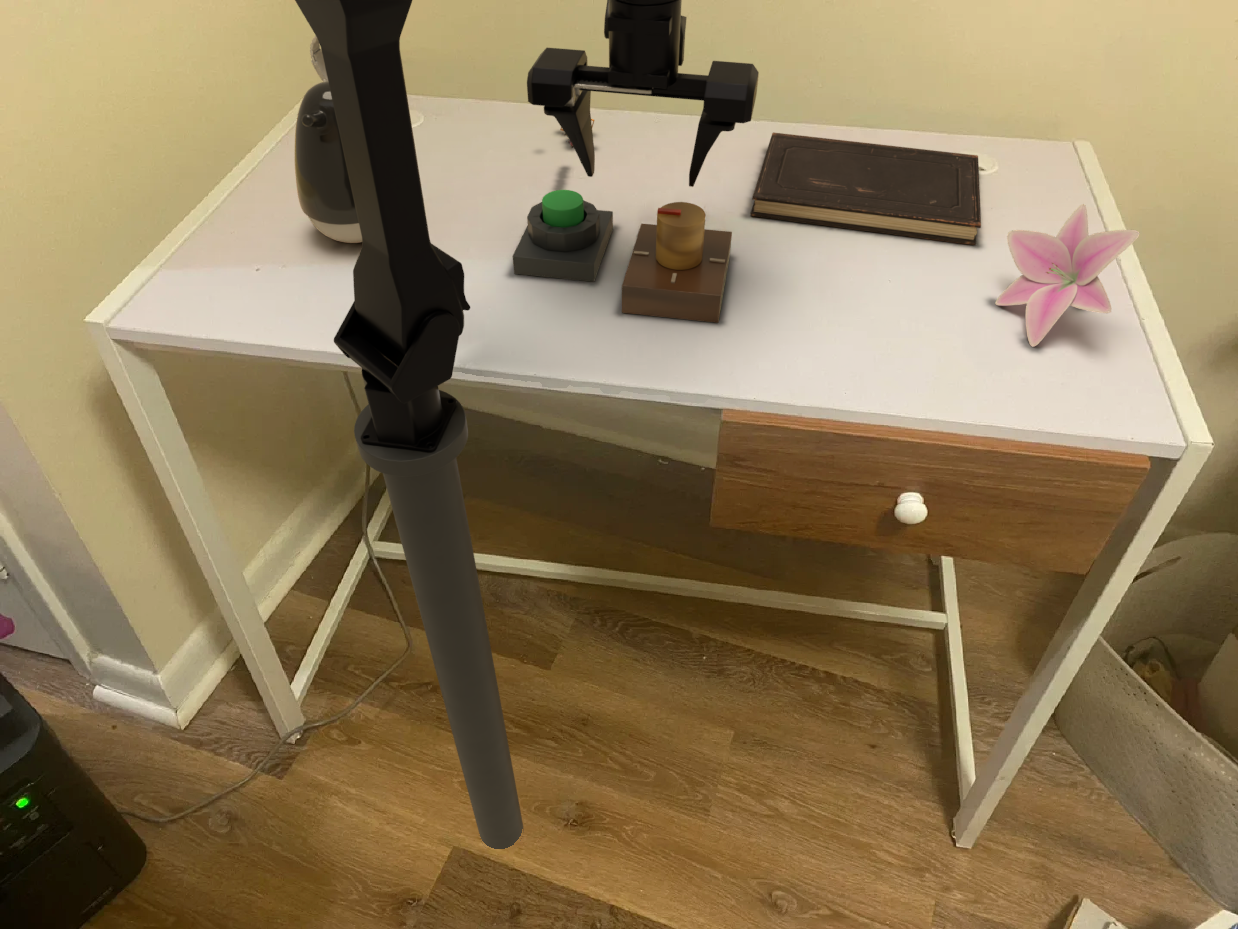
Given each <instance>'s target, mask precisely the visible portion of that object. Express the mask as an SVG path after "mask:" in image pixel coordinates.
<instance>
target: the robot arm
mask: <svg viewBox="0 0 1238 929" xmlns="http://www.w3.org/2000/svg"><path fill="white" fill-rule="evenodd" d="M294 1H295V3H296V5H297V6H298V8H299V10H300V12H301V13H302V15H303V16H304V18H305V20H306V21H307V23H308V25H309V27H310V28H311V30H312V32H313V34H314V35H316V37H317V39H318V41H319V45H320V49H321V50H322V54H323V59H324V64H325V68H326V73H327V78H328V82H329V87H330V92H331V96H332V101H333V105H334V110H335V115H336V119H337V124H338V129H339V133H340V138H341V142H342V147H343V152H344V156H345V161H346V166H347V170H348V175H349V180H350V184H351V189H352V193H353V198H354V203H355V207H356V212H357V217H358V221H359V226H360V230H361V235H362V242H361V243H362V244H361V248H360V250H359V253H358V256H357V259H356V261H355V263H354V266H353V270H352V276H353V277H352V279H353V280H352V281H353V296H354V297H353V299H354V301H353V302H352V304H351V305H350V308H349V310H348V311H347V314H346V315H345V317H344V319H343V320H342V322H341V325H340V326H339V327H338V329H337V331H336V333H335V335H334V337H333V343H334V344H335V345H336V346H337V348H338V349H339V351H341V353H342V354H343V355H344V356H345V357H347V359H350V360H352V362H354V363H355V364H356V365H358V366H359V367H360V368H361V376H362V380H363V385H364V388H363V389H364V393H365V396H366V400H367V405H368V404H369V408H370V412H371V415H372V417H371V419H370V421H369V422H368V424H367V426H366V428H365V430H364V431H363V433H362V435H361V442H362V443H363V444H365V445H373V446H380V447H388V448H396V449H404V450H411V451H419V452H427V453H432V452H434V451H436V449H437V447H438V445H439V443H440V441H441V439H442V437H443V434H444V432H445V430H446V428H447V426H448V423H449V421H450V419H451V417H452V415H453V413H454V410H455V408H456V406H457V401H456V399H457V398H456V397H454V398H450V397H442V396H440V394H439V390H440V389H439V386H441V385H442V384H444V383H446V382H447V381H449V380H451V379H452V377H453V372H454V367H455V361H456V355H457V350H458V346H459V345H458V344H459V337H460V336H462V334H463V331H464V329H465V328H464V327H465V312H464V311H466V312H467V311H470V309H471V305H470V304H469V302H468V301H467V298H466V293H465V272H464V268H463V264H462V262H460V261H459V260H457V259H456V258H454V257H453V256H451V255H450V254H448V253H447V252H445V251H444V250H442V249H441V248H439V247H437V246H436V245H435V244H433V243H432V241H431V239H430V234H429V226H428V219H427V214H426V207H425V202H424V201H425V200H424V195H423V194H424V193H423V189H422V183H421V176H420V175H421V174H420V170H419V163H418V162H419V161H418V157H417V149H416V146H415V145H416V144H415V137H414V131H413V124H412V117H411V112H410V104H409V99H408V98H409V97H408V93H407V92H408V91H407V86H406V79H405V74H404V67H403V61H402V60H403V59H402V55H401V43H400V41H401V36H402V32H403V30H404V26H405V24H406V21H407V18H408V15H409V12H410V9H411V6H412V3H413V0H294ZM682 2H683V0H606V7H605V14H604V24H603V26H604V27H603V35H604V38H605V39H606V40H608V66H597V65H588V54H587V53H586V50H582V49H571V48H557V47H546V48H544V49H543V51H542V52H541V53H540V54H539V56H538V57H537V58H536V60H535V62H534V63H533V65H532V66H531V68H530V69H529V70H528V72H527V78H526V91H527V102H528V103H529V104H531V105H532V106H540V107H541V106H542V107H543V113H544V115H546V116H549V117H554V118H555V120H556V121H557V123H558V124H559V126H560V128H561V127H562V129H563V130H564V131H563V132H564V134H565V136H567V138H568V140H570V141H571V143H572V145H573V146H572V147H573V149H574V151H575V153H576V156H577V157H578V159H579V161H580V164H581V165H582V167H583V170H584V171H585V174H586V175H587V177H588V178H592V177H594V174H595V168H596V164H595V163H596V158H595V157H596V154H595V153H596V152H595V143H594V135H593V134H594V133H593V127H592V124H593V123H592V120H591V119H592V115H591V114H592V113H591V99H592V98H591V96H592V92H597V93H608V94H609V93H611V94H621V95H633V96H644V97H645V96H646V97H655V98H656V97H657V98H666V99H667V98H668V99H669V98H670V99H680V100H690V101H691V100H692V101H703V106H702V107H703V108H702V110H701V111H702V112H701V114H700V118H699V121H698V124H697V131H696V135H695V136H696V137H695V140H694V147H693V151H692V156H691V161H690V167H689V172H688V187H692V188H693V187H694V186H695V184H696V182H697V179H698V177H699V174H700V172H701V169H702V167H703V165H704V162H705V160H706V158H707V156H708V154H709V152H710V150H711V149H712V147H713V145H714V144H715V142H716V141H717V139H718V138H719V136H720V135H721V133H722V132H732V131H734V130H735V127H736V124H747V123H749V122H751V121H752V118H753V114H754V108H755V103H756V98H757V93H758V84H759V75H760V74H759V70H758V69H757V67H756V66H755V64H754V63H747V62H734V61H722V60H712V62H711V65H710V69H709V71H708V74H707V75H706V74H695V73H683V72H682V73H681V72H679V67H682V66H683V63H684V61H685V47H686V46H685V45H686V29H687V16H684V15H682ZM455 398H456V399H455ZM367 438H368V439H367ZM430 446H432V447H430Z"/></svg>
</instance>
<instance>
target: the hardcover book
mask: <svg viewBox="0 0 1238 929" xmlns="http://www.w3.org/2000/svg"><path fill="white" fill-rule="evenodd" d="M979 164H980V163H979V155H977V154H976V155H975V154H970V153H969V154H968V153H959V152H950V151H941V150H934V149H932V150H931V149H925V148H915V147H908V146H907V147H905V146H897V145H889V144H879V143H871V142H863V141H852V140H845V139H844V140H843V139H834V138H826V137H816V136H808V135H799V134H793V133H792V134H790V133H783V132H773V131H772V133H771V136H770V139H769V142H768V146H767V149H766V152H765V156H764V158H763V162H762V165H761V168H760V171H759V175H758V178H757V181H756V184H755V187H754V191H753V193H752V197H751V200H753V203H752V207H751V211H750V214H749V216H750V217H754V218H755V217H756V218H763V219H771V220H778V221H787V222H795V223H801V224H808V225H809V224H810V225H815V226H816V225H817V226H823V227H824V226H825V227H832V228H840V229H847V230H856V231H864V232H872V233H877V234H887V235H895V236H903V237H910V238H917V239H925V240H932V241H939V242H940V241H941V242H948V243H956V244H963V245H971V246H975V245H976V242H977V240H976V239H977V238H976V237H977V236H976V235H977V234H978V229H981V228H982V215H981V214H982V213H981V194H980V192H981V191H980V169H979V168H980V167H979Z"/></svg>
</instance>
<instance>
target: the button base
mask: <svg viewBox="0 0 1238 929" xmlns="http://www.w3.org/2000/svg"><path fill="white" fill-rule="evenodd" d="M583 206H584V219H583V221H582V222H581V223H580V224H578V225H576V226H571V227H566V228H562V227H552V226H550V225H548V224H546V223H545V222H544V220H543V209H542V201H540V202H539V203H537V204H535V205H533V206H532V207H531V208H530V210H529V211H528V214H527V217H526V221H527V226H526V227H525V229H524V231H523V233H522V236H521V238H520V240H519V243H518V244H517V246H516V248H515V251H514V253H513V255H512V263H513V264H512V265H513V273H514V275H523V276H524V275H525V276H532V277H543V278H552V279H563V280H570V281H571V280H573V281H581V282H592V283H594V282H595V281H596V277H597V275H598V272H599V269H600V267H601V265H602V264H601V263H602V260H603V258H604V255H605V252H606V250H607V247H608V243H609V240H610V238H611V235H612V232H613V230H614V212H613V210H612V211H611V210H602V209H597V207H596V206H595V204H594V203H591V202H589V201H586V200H584V199H583Z"/></svg>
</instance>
